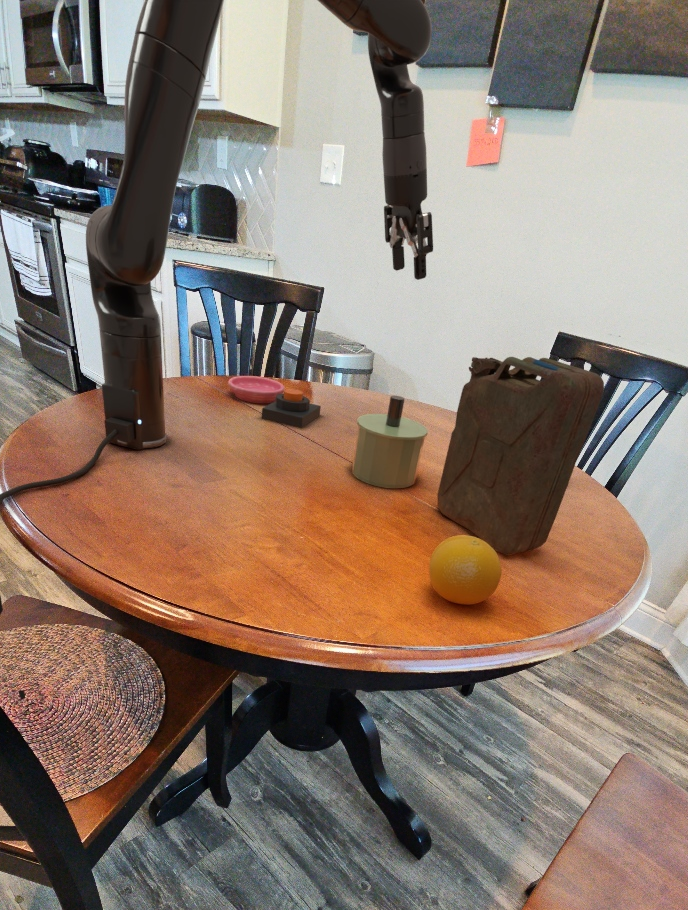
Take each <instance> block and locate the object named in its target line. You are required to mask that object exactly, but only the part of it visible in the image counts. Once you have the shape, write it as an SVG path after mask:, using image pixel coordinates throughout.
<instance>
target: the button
mask: <svg viewBox="0 0 688 910" xmlns="http://www.w3.org/2000/svg"><path fill="white" fill-rule="evenodd" d="M283 393H284V397H283V399H286V400H289V401H297V402H298V401H302V399H303V396H304V392H303V390H300V389H297V388H284V392H283Z"/></svg>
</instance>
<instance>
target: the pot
mask: <svg viewBox="0 0 688 910" xmlns="http://www.w3.org/2000/svg"><path fill="white" fill-rule="evenodd" d="M425 438H426V437H424V438H422V439H418V440H397V439H391V438H385V437H381V436H378V435H374V434H372V433H369V432H367V431H365V430H363V429H362V428H360V427H359V426H358V425H357V431H356V439H355V444H354V451H353V460H352V465H351V468H352V469H351V472H352V475H353V476H354V477H355V478H356V479H358V480H359V481H361V482H362V483H366V484H368V485H371V486H374V487H379V488H386V489H405V488H409V487H410V486H412V485H414V484H415V483H416V479H417V475H418V470H419V466H420V461H421V457H422V452H423V449H424V448H423V447H424V443H425Z"/></svg>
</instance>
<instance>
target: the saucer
mask: <svg viewBox="0 0 688 910" xmlns="http://www.w3.org/2000/svg"><path fill="white" fill-rule="evenodd" d="M228 387H229V389H230V390H231V392H232V393H233V394H234V396H235V397H236V398H237V399H238V400H241V401H243V402H247V403H253V404H271V403H273V402H275V401H276V395H278V394H283V393H284V390H285V386H284V384H283V383H281V382H280V381H277V380H275V379H271V378H268V377H262V376H256V375H255V376H254V375H238V376H233V377H231V378H230V379H229V380H228Z"/></svg>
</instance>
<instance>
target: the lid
mask: <svg viewBox="0 0 688 910" xmlns="http://www.w3.org/2000/svg"><path fill="white" fill-rule="evenodd" d="M404 404H405V397H403V396H400V395H396V394H395V395H390V397H389V403H388V408H387V413H366V414H362V415H360V416H358V417H357V420H356V424H357V427H358V426H359V427H360V428H362V429H363V430H365V431H367V432H369V433H372V434H374V435H378V436H381V437H385V438H391V439H397V440H418V439H422V438H424V437H425V438H426V437H427V436H428V432H429V430H428V428H427V427H426V426H425V425H424V424H422V423H420V422H418V421H416V420H414V419H411V418H408V417H403V416H402V415H403V410H404V406H405V405H404Z"/></svg>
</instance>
